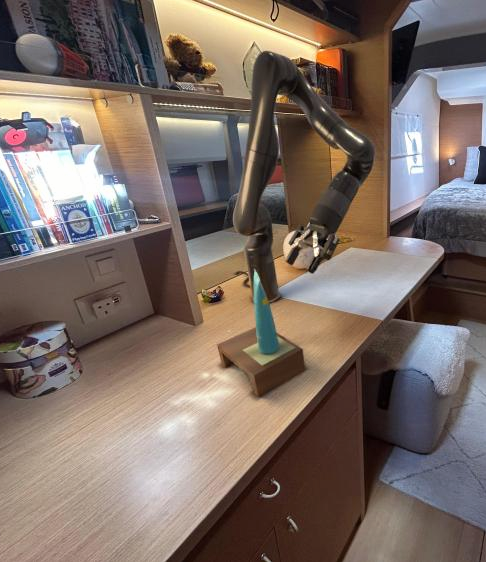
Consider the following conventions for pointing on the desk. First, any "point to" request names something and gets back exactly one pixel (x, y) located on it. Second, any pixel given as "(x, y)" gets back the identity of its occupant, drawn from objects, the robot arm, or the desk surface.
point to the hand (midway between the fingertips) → (298, 267)
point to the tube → (264, 320)
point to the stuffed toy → (303, 255)
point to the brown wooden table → (262, 360)
